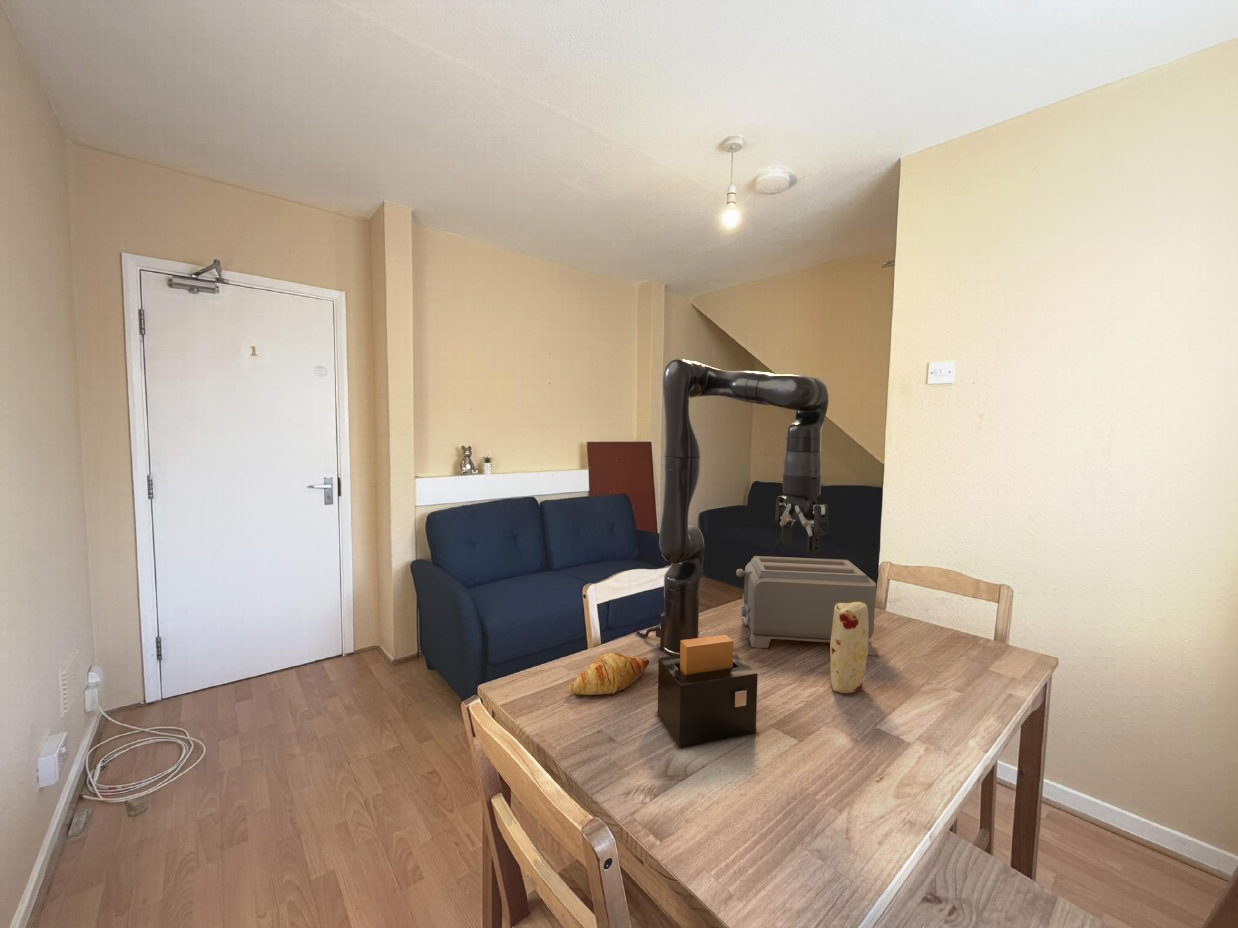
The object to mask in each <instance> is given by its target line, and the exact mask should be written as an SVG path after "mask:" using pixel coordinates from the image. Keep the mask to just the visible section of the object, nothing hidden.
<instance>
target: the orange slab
mask: <svg viewBox="0 0 1238 928" xmlns="http://www.w3.org/2000/svg"><path fill="white" fill-rule="evenodd" d="M733 652H734V639H732V638H731V637H730V636H729V635H727V634H721V635H712V636H706V637H705V636H704V637H698V638H696V639H688V640H681V641H680V671H681V672H682V673H683V675H690V674H696V673H703V672H710V671H716V670H723V669H729V668H733Z"/></svg>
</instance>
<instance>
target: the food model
mask: <svg viewBox="0 0 1238 928" xmlns="http://www.w3.org/2000/svg"><path fill="white" fill-rule="evenodd" d="M868 632H869V623H868V608H867V606H866V604H865V603H862V602H852V603H837V604H836V605H835V607H834V616H833V625H832V634H831V642H829V645H830V646H829V653H830V657H829V658H830V659H829V660H830V662H829V663H830V664H829V665H830V682H831V687H832V689H833V691H834V692H838V693H841V694H849V693H850V694H851V693H855V692H858V691H859V690H861V689H862V688H863V683H864V678H865V672H866V667H867V661H868V656H869V655H868Z"/></svg>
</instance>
